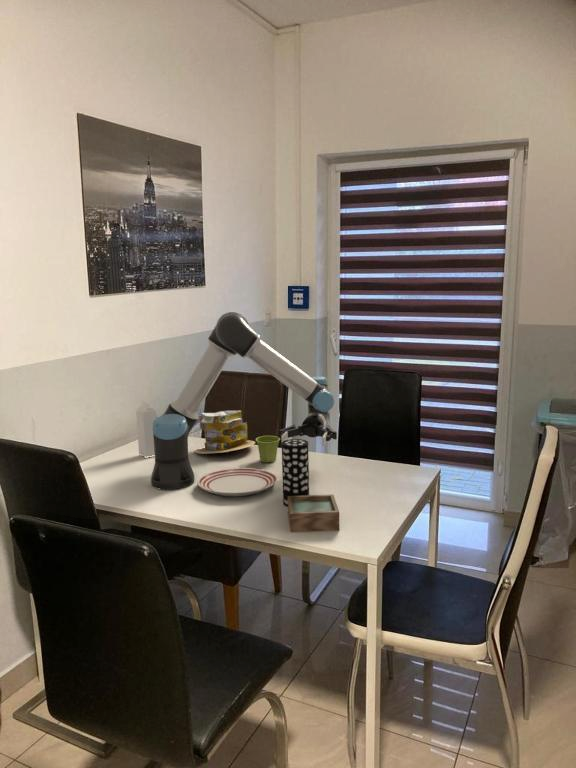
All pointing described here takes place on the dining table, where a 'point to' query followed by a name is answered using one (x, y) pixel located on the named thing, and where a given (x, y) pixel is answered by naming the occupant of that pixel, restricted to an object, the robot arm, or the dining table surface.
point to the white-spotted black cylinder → (295, 468)
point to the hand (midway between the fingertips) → (302, 441)
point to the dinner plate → (237, 481)
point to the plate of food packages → (223, 432)
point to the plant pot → (267, 448)
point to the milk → (145, 429)
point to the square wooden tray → (313, 513)
